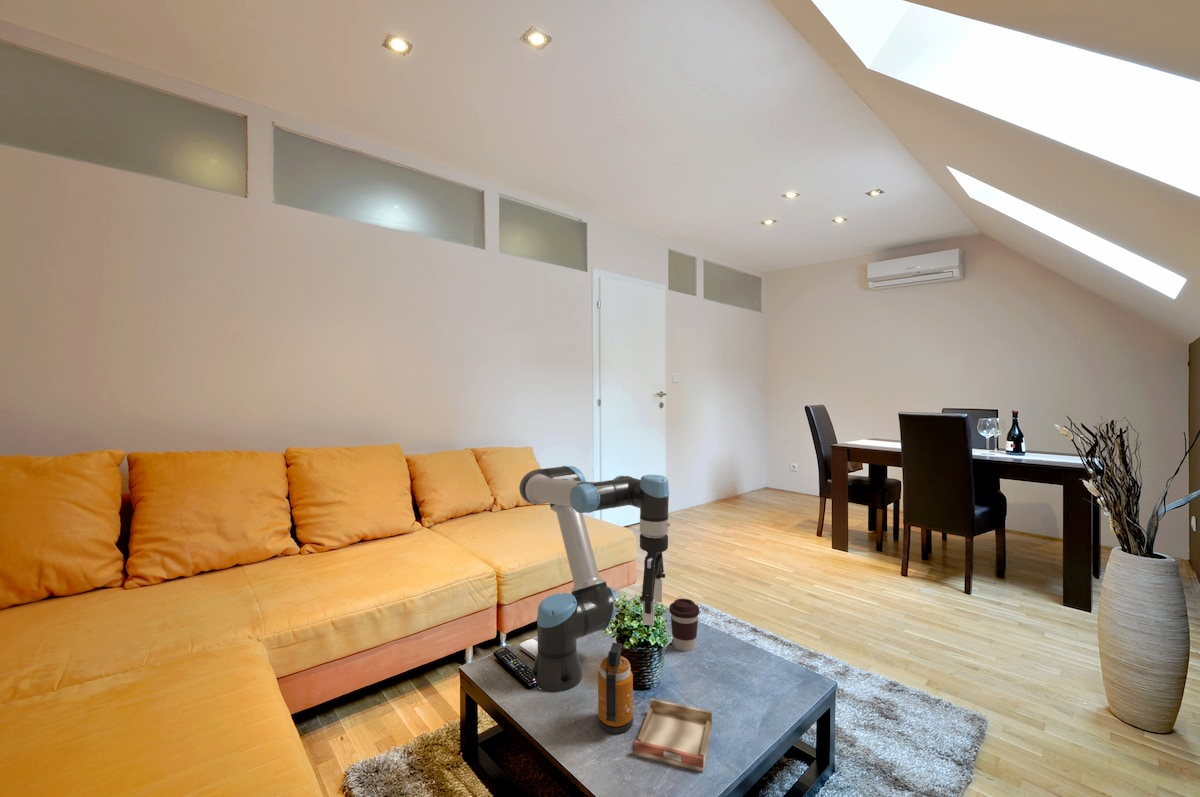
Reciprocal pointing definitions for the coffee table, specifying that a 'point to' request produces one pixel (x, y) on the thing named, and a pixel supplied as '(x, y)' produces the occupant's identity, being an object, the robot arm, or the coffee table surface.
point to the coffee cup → (684, 624)
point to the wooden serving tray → (675, 734)
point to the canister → (615, 692)
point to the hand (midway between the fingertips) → (653, 612)
